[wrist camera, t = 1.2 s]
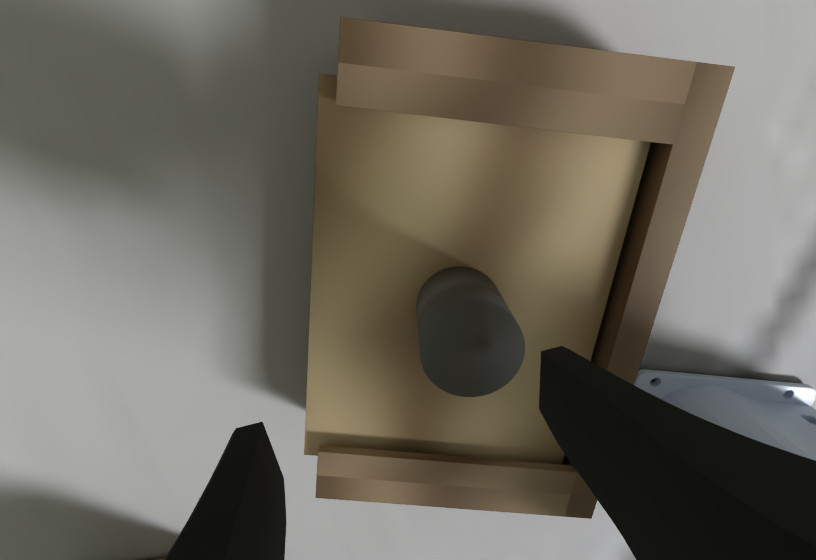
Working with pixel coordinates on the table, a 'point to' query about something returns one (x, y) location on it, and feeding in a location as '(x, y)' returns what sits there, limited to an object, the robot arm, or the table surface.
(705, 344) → the table surface
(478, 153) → the lid
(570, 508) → the box
